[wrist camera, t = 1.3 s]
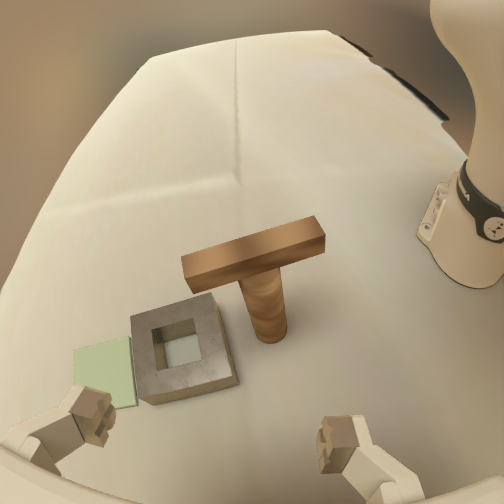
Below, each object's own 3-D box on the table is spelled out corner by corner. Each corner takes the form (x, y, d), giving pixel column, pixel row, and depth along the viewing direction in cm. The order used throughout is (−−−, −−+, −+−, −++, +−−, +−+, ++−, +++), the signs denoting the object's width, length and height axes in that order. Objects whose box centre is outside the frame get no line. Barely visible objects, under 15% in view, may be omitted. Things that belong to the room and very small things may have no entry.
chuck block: (218, 307, 41) (210, 292, 38) (239, 384, 34) (232, 375, 31) (143, 329, 41) (130, 316, 38) (153, 405, 34) (138, 398, 30)
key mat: (130, 338, 40) (128, 336, 40) (138, 405, 34) (135, 404, 33) (75, 351, 39) (73, 350, 39) (78, 414, 33) (75, 413, 33)
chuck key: (310, 301, 40) (310, 209, 27) (321, 327, 37) (329, 241, 25) (221, 329, 39) (179, 249, 27) (229, 357, 37) (186, 286, 24)
